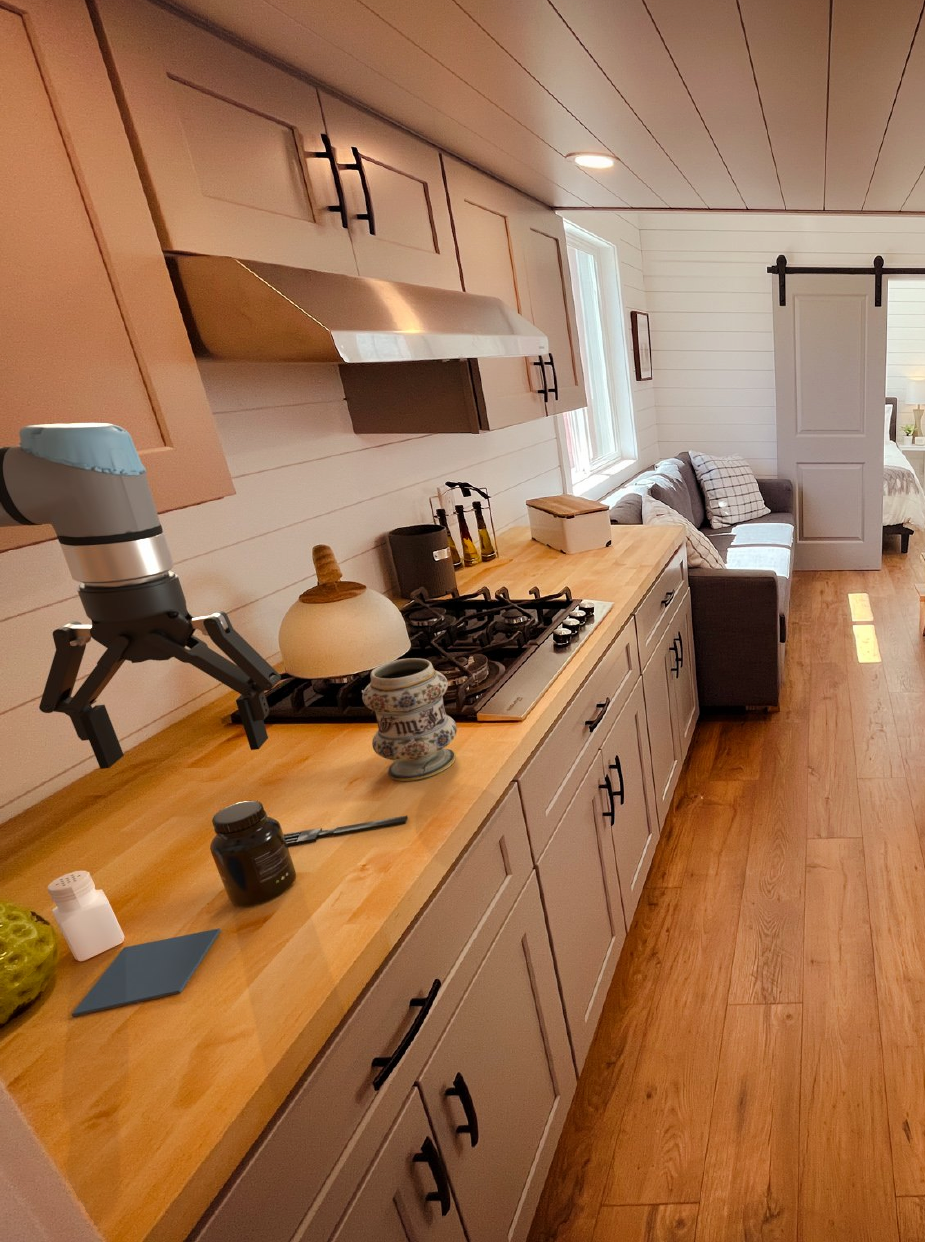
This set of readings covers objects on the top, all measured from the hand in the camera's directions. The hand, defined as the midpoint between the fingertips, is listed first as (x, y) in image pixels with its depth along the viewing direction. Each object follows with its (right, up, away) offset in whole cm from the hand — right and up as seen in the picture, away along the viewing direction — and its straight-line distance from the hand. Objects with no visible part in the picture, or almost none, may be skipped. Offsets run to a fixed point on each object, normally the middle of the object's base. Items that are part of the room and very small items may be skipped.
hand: (188, 753), depth 78 cm
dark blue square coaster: (-2, -24, -3) cm, 24 cm away
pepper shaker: (-11, -23, 0) cm, 25 cm away
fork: (+3, -15, +20) cm, 25 cm away
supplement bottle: (+1, -20, +9) cm, 22 cm away
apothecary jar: (+5, -10, +36) cm, 38 cm away
